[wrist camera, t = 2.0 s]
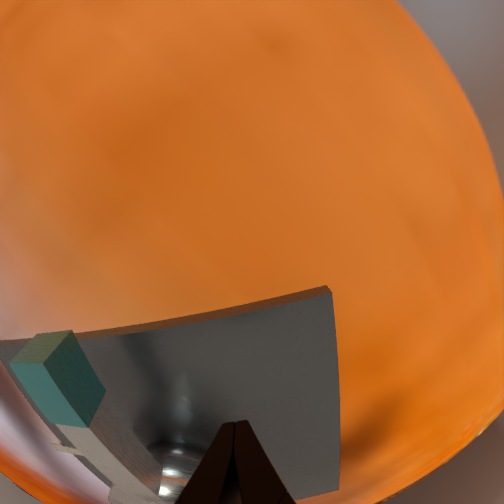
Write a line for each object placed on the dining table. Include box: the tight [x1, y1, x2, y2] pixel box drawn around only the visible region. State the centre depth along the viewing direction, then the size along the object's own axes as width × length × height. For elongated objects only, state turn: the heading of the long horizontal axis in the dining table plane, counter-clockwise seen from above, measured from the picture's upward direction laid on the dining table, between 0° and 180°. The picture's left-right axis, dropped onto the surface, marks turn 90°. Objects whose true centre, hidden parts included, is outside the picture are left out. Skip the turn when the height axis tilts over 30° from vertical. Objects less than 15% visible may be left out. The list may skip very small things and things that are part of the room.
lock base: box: [0, 285, 340, 500], centre depth 14 cm, size 24×22×2 cm
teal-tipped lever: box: [9, 330, 200, 504], centre depth 10 cm, size 17×8×3 cm, turn 13°
